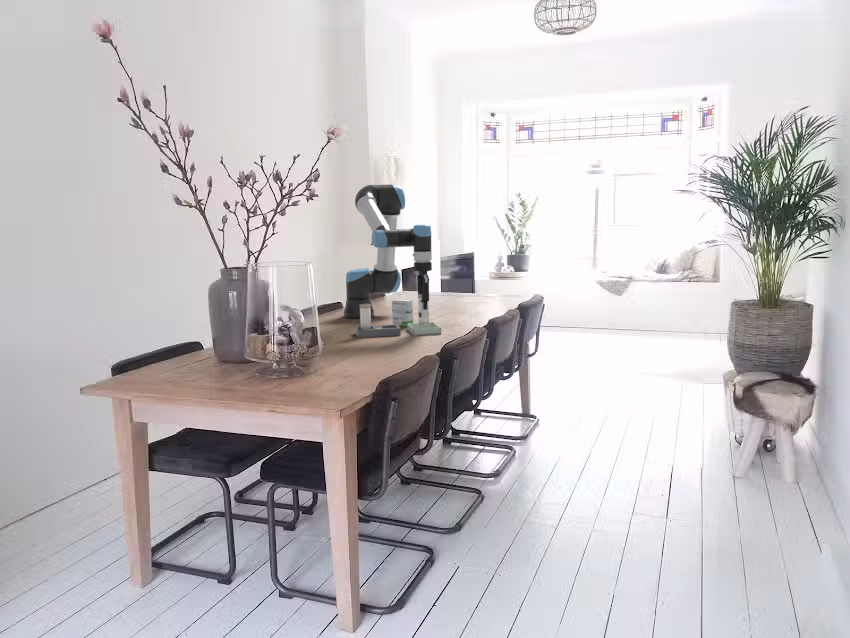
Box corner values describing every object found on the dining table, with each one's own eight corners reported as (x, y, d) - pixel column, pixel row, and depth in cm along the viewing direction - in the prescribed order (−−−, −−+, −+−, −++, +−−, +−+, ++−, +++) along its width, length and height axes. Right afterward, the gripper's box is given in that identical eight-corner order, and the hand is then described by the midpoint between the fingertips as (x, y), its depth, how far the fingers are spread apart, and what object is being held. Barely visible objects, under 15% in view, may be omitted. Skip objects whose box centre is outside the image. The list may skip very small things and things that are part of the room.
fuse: (359, 334, 300) (359, 304, 298) (370, 333, 301) (369, 303, 299) (361, 336, 295) (360, 305, 293) (372, 335, 296) (371, 305, 294)
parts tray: (407, 329, 309) (407, 323, 308) (434, 328, 311) (433, 322, 311) (413, 335, 295) (413, 328, 295) (441, 333, 298) (441, 327, 297)
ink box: (413, 325, 319) (413, 299, 317) (408, 327, 315) (407, 301, 313) (397, 324, 324) (397, 298, 322) (391, 326, 319) (391, 300, 317)
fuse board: (355, 333, 302) (355, 326, 302) (396, 331, 306) (396, 323, 305) (357, 337, 293) (357, 330, 292) (400, 335, 296) (400, 327, 296)
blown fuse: (417, 323, 304) (416, 294, 302) (428, 323, 305) (427, 293, 303) (419, 325, 300) (419, 295, 298) (430, 325, 301) (429, 294, 299)
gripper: (410, 260, 306) (411, 313, 310) (418, 263, 289) (419, 319, 293) (427, 259, 307) (428, 312, 311) (435, 262, 291) (436, 318, 294)
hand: (423, 315), depth 302 cm, fingers closed on blown fuse, 4 cm apart
